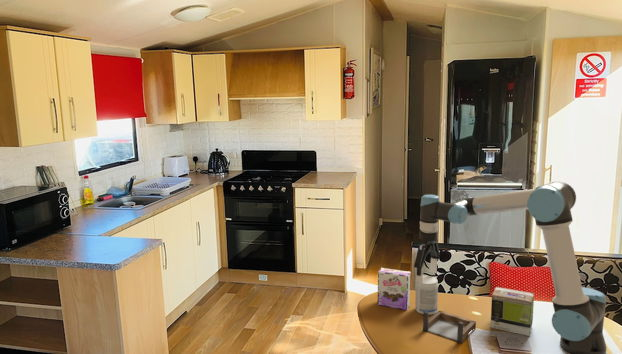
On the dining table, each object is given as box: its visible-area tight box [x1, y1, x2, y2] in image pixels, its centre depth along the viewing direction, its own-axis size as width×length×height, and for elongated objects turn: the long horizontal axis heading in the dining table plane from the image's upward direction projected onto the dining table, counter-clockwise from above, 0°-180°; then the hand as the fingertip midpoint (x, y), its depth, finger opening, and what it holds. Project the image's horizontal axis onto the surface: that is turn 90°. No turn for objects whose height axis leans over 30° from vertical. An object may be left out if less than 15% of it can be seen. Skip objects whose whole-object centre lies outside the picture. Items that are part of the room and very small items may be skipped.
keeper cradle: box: [422, 310, 477, 344], centre depth 193 cm, size 16×16×8 cm
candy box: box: [377, 267, 412, 311], centre depth 214 cm, size 14×6×16 cm, turn 67°
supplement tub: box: [414, 275, 439, 316], centre depth 209 cm, size 10×10×15 cm
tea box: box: [490, 286, 535, 337], centre depth 194 cm, size 15×10×15 cm, turn 59°
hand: (426, 277), depth 208 cm, fingers open, 13 cm apart
